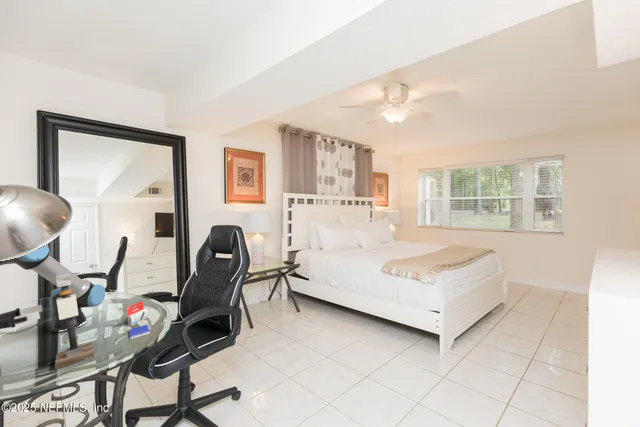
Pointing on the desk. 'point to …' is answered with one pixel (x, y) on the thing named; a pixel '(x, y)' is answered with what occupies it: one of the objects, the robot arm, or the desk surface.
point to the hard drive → (139, 331)
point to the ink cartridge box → (136, 313)
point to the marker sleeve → (67, 307)
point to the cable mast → (70, 331)
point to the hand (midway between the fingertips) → (40, 311)
